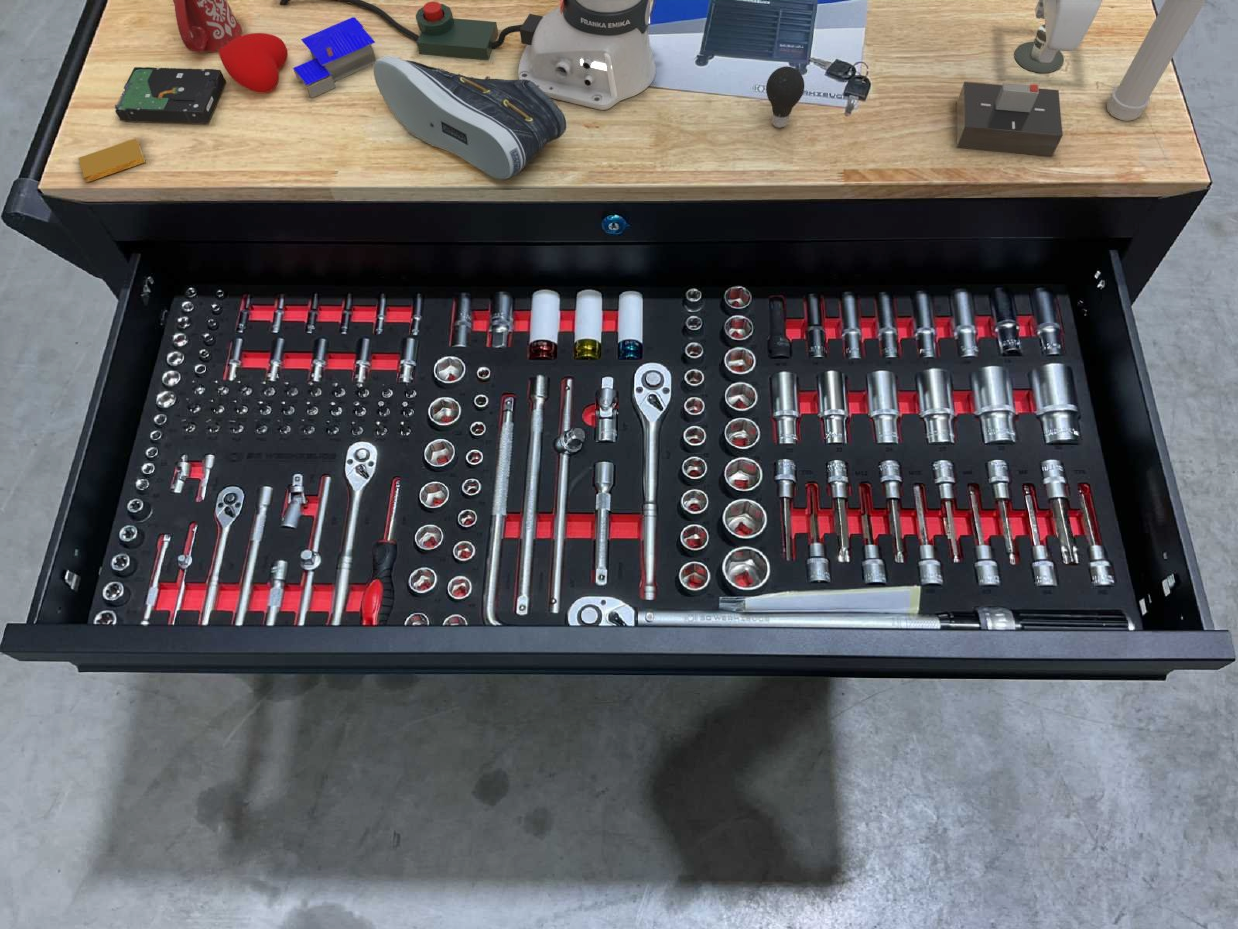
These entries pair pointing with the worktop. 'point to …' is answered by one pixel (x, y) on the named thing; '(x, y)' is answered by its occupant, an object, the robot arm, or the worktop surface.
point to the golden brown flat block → (111, 160)
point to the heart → (255, 60)
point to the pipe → (1153, 58)
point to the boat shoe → (471, 114)
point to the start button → (433, 11)
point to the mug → (206, 24)
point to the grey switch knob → (1016, 97)
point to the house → (335, 55)
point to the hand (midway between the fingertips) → (1042, 36)
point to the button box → (455, 36)
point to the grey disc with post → (1037, 55)
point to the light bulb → (784, 93)
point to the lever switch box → (1007, 122)
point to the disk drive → (170, 95)
